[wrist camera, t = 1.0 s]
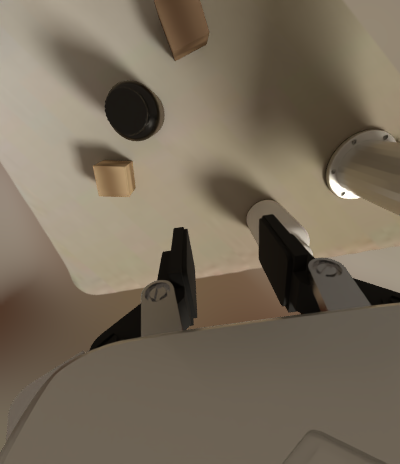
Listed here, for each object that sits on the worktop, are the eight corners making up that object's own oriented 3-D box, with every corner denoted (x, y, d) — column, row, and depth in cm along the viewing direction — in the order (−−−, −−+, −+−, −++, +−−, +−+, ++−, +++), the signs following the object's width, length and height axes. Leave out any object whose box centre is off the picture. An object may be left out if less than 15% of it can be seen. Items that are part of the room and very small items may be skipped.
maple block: (132, 160, 37) (125, 166, 33) (135, 188, 40) (129, 196, 35) (104, 160, 37) (92, 165, 33) (108, 187, 40) (99, 196, 35)
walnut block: (192, -1, 28) (193, -23, 23) (206, 44, 30) (209, 32, 26) (159, 18, 28) (153, 0, 24) (175, 61, 31) (173, 52, 26)
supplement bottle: (139, 143, 36) (119, 155, 26) (113, 102, 33) (79, 96, 22) (173, 123, 35) (167, 126, 24) (150, 78, 32) (131, 60, 21)
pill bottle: (246, 235, 46) (270, 283, 33) (244, 202, 42) (269, 241, 29) (282, 229, 46) (319, 274, 33) (283, 195, 42) (326, 231, 29)
